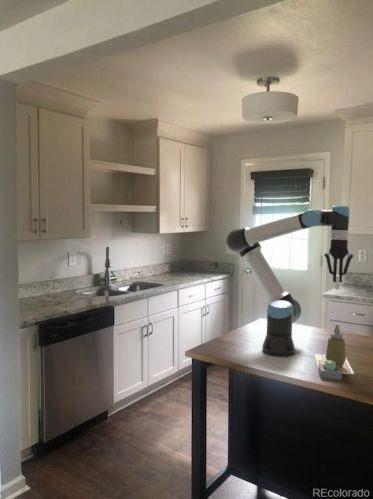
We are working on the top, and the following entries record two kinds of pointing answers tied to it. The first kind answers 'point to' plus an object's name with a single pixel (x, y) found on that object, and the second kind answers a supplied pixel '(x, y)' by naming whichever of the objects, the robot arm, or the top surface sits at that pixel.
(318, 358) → the picture sheet
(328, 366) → the button
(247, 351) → the top surface
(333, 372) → the button collar
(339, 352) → the squeeze bottle
